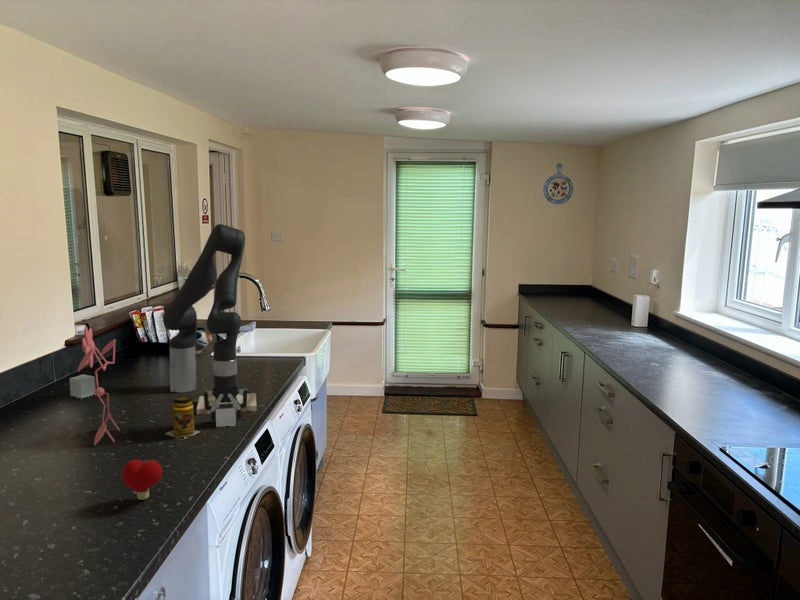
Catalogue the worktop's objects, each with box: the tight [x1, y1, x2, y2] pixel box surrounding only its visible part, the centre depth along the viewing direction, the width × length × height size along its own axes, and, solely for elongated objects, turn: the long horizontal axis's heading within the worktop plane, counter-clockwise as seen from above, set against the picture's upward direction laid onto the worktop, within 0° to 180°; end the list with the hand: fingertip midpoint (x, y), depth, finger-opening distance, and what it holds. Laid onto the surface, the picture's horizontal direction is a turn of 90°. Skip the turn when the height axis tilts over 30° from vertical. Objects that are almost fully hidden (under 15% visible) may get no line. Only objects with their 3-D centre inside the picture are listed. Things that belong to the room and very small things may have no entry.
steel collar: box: [215, 403, 237, 428], centre depth 190 cm, size 6×6×6 cm
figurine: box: [64, 325, 126, 453], centre depth 173 cm, size 15×26×35 cm, turn 17°
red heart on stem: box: [121, 459, 163, 501], centre depth 140 cm, size 9×7×10 cm
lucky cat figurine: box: [195, 330, 213, 356], centre depth 279 cm, size 15×12×14 cm
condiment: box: [165, 394, 201, 440], centre depth 181 cm, size 7×8×12 cm
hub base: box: [196, 392, 258, 416], centre depth 206 cm, size 20×14×8 cm
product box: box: [69, 374, 96, 400], centre depth 213 cm, size 6×6×7 cm
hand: (226, 420), depth 191 cm, fingers open, 7 cm apart
